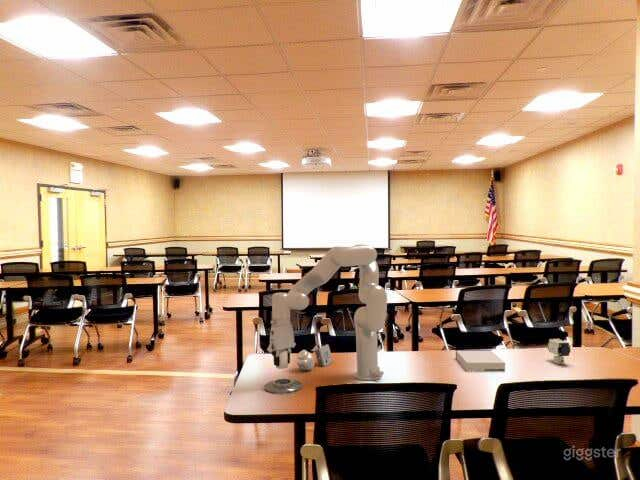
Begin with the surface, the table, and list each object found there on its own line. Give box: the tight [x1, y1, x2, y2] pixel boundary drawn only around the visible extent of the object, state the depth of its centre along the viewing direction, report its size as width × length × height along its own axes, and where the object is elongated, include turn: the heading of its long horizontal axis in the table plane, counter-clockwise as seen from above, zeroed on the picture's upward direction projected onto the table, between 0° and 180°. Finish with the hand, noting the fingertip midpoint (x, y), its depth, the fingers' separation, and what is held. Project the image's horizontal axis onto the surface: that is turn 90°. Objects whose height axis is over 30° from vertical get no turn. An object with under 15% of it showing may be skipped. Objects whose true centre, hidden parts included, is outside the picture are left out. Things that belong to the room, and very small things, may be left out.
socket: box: [263, 378, 303, 394], centre depth 203 cm, size 16×16×2 cm
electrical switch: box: [314, 344, 334, 368], centre depth 237 cm, size 9×5×9 cm, turn 152°
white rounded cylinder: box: [275, 349, 289, 370], centre depth 203 cm, size 5×5×8 cm
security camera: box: [547, 337, 571, 365], centre depth 228 cm, size 6×12×12 cm, turn 6°
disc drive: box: [455, 349, 506, 373], centre depth 229 cm, size 18×22×5 cm
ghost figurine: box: [296, 349, 316, 371], centre depth 227 cm, size 9×10×10 cm
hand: (281, 363), depth 203 cm, fingers closed on white rounded cylinder, 5 cm apart
